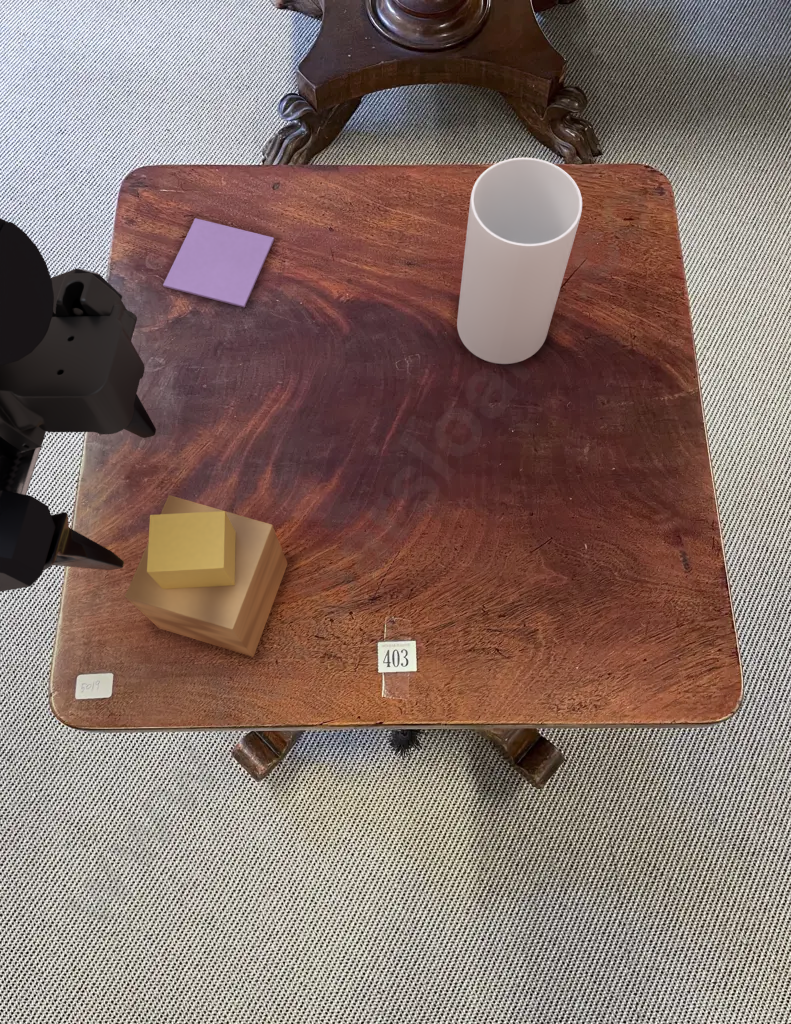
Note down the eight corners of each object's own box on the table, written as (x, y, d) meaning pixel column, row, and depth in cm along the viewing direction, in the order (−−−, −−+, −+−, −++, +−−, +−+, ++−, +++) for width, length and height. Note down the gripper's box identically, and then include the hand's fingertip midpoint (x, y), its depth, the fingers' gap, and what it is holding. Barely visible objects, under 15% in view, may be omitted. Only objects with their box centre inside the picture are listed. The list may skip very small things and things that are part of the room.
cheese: (162, 589, 59) (146, 572, 56) (165, 535, 61) (149, 514, 57) (234, 585, 59) (223, 568, 56) (235, 531, 61) (225, 510, 57)
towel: (163, 286, 79) (162, 284, 79) (195, 220, 82) (195, 217, 82) (244, 307, 78) (244, 306, 78) (274, 239, 81) (274, 237, 81)
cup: (551, 292, 79) (586, 163, 64) (543, 369, 76) (578, 252, 61) (462, 281, 79) (477, 151, 64) (451, 357, 76) (464, 239, 62)
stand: (158, 628, 68) (124, 596, 59) (196, 536, 70) (168, 494, 62) (253, 657, 67) (232, 629, 58) (288, 563, 69) (272, 524, 61)
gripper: (-33, 482, 32) (217, 629, 44) (86, 147, 41) (267, 345, 53) (-212, 527, 37) (58, 648, 49) (-70, 217, 46) (129, 385, 58)
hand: (134, 497), depth 52 cm, fingers open, 9 cm apart
